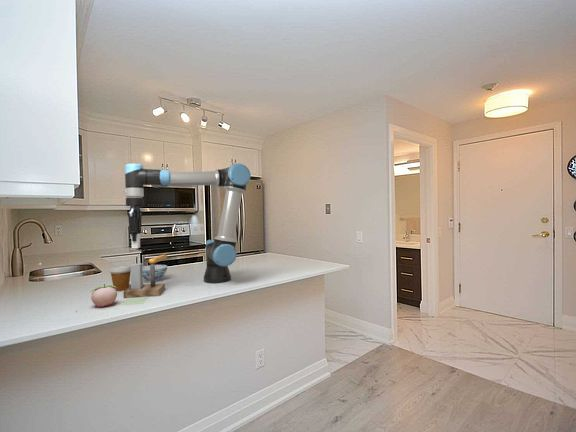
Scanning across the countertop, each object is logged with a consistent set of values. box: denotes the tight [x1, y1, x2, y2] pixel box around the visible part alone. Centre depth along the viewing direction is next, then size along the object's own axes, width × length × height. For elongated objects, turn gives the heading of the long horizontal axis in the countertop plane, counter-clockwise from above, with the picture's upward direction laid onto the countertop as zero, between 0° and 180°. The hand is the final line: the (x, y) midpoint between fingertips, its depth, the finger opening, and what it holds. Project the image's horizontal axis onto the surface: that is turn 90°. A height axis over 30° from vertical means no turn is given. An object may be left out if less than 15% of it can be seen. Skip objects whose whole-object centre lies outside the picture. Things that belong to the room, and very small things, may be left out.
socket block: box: [122, 263, 166, 299], centre depth 143 cm, size 15×12×15 cm
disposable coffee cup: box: [109, 265, 131, 292], centre depth 151 cm, size 10×10×12 cm
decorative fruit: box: [90, 283, 118, 308], centre depth 125 cm, size 9×8×10 cm
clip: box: [148, 254, 168, 264], centre depth 150 cm, size 15×3×2 cm, turn 179°
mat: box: [120, 297, 149, 306], centre depth 131 cm, size 9×9×1 cm
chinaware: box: [142, 264, 168, 283], centre depth 174 cm, size 15×15×8 cm
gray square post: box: [129, 262, 144, 289], centre depth 142 cm, size 4×4×14 cm
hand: (136, 247), depth 142 cm, fingers open, 2 cm apart
